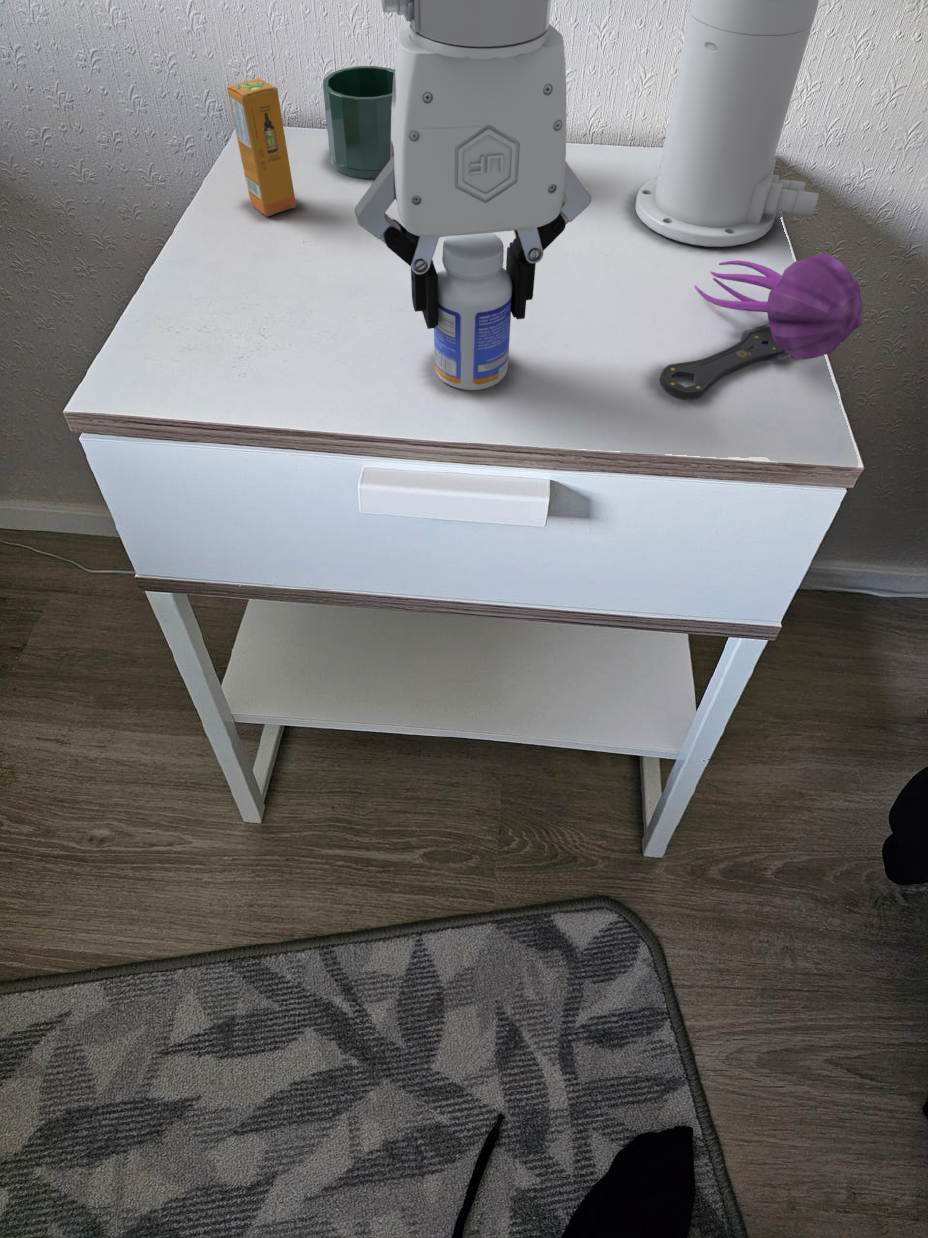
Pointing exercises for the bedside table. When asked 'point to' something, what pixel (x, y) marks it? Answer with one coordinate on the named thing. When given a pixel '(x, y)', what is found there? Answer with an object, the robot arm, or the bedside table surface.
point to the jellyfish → (802, 303)
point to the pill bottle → (473, 312)
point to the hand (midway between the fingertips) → (472, 310)
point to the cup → (359, 119)
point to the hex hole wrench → (722, 363)
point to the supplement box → (262, 145)
